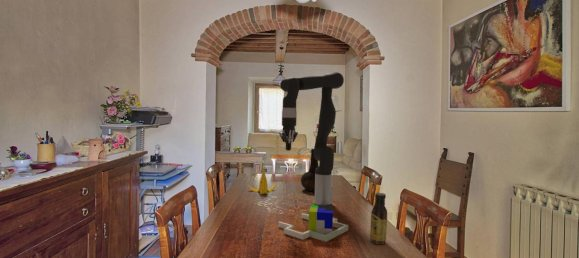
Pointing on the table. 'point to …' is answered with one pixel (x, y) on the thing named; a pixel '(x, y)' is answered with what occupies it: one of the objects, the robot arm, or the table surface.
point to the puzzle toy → (321, 219)
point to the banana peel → (263, 185)
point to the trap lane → (290, 231)
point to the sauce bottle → (379, 220)
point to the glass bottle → (310, 174)
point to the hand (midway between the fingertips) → (288, 150)
